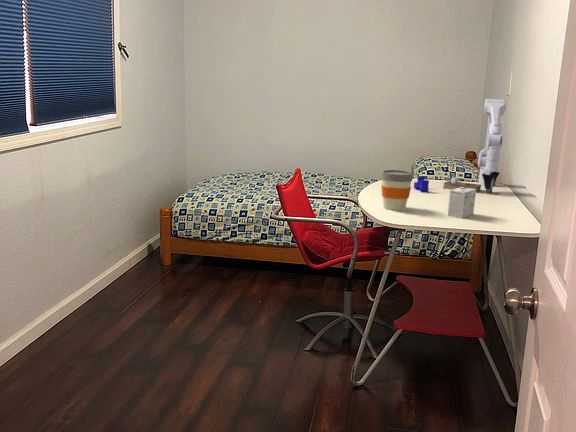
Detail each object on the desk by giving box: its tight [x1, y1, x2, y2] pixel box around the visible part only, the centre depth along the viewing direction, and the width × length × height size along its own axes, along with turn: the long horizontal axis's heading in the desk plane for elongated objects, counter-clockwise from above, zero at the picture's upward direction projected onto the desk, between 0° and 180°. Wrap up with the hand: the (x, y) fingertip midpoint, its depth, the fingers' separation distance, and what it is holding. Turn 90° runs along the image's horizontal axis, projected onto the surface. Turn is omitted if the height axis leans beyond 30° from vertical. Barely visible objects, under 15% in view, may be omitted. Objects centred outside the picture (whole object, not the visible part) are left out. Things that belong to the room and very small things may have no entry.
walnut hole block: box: [443, 180, 482, 193], centre depth 319 cm, size 8×16×3 cm, turn 59°
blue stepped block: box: [413, 175, 430, 194], centre depth 313 cm, size 12×4×6 cm, turn 0°
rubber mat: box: [480, 190, 502, 196], centre depth 312 cm, size 8×8×1 cm
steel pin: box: [485, 178, 494, 193], centre depth 312 cm, size 3×3×8 cm
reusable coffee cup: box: [381, 169, 413, 212], centre depth 268 cm, size 13×13×15 cm
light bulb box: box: [447, 187, 477, 219], centre depth 261 cm, size 11×7×11 cm, turn 141°
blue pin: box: [450, 176, 459, 184], centre depth 320 cm, size 3×3×6 cm
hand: (489, 187), depth 312 cm, fingers open, 7 cm apart
